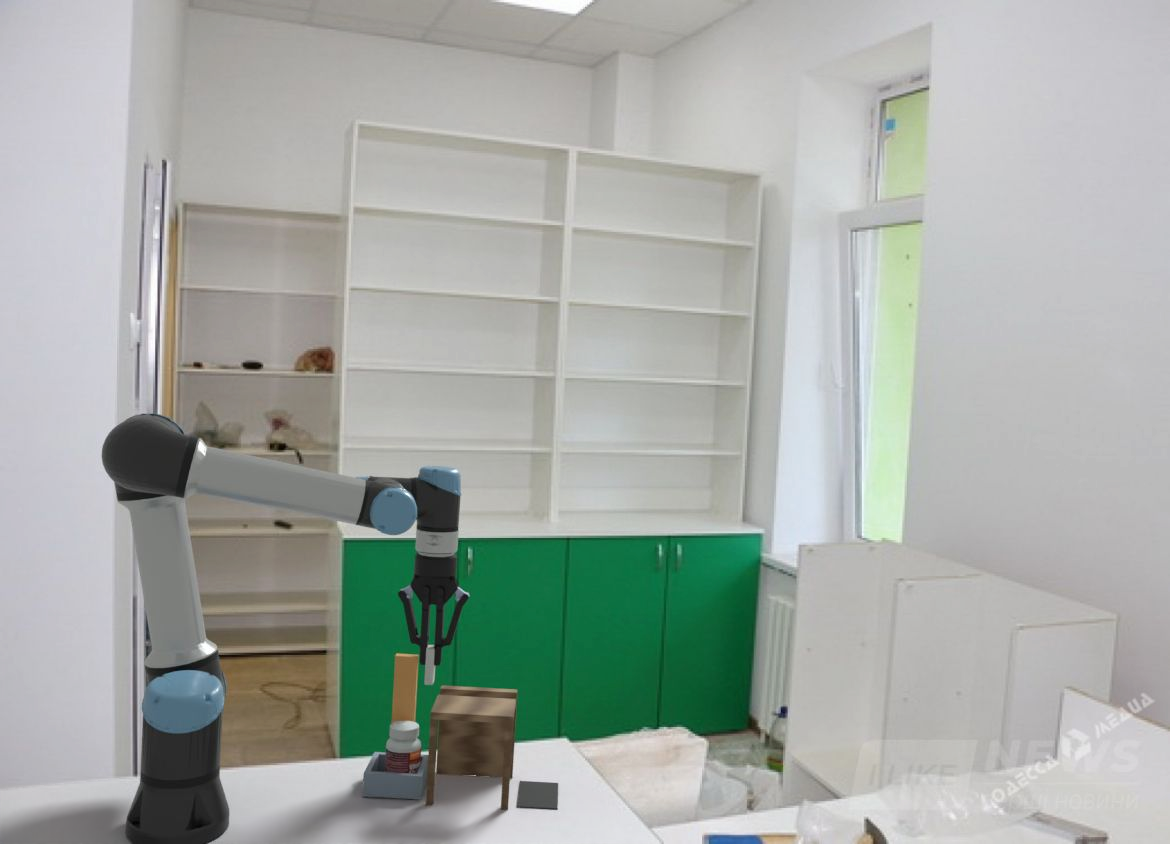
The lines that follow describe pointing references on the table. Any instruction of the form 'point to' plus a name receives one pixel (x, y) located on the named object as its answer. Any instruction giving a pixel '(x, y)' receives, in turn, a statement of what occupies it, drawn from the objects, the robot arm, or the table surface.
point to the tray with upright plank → (402, 710)
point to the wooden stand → (472, 735)
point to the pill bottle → (403, 748)
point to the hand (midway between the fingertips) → (429, 682)
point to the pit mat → (538, 795)
